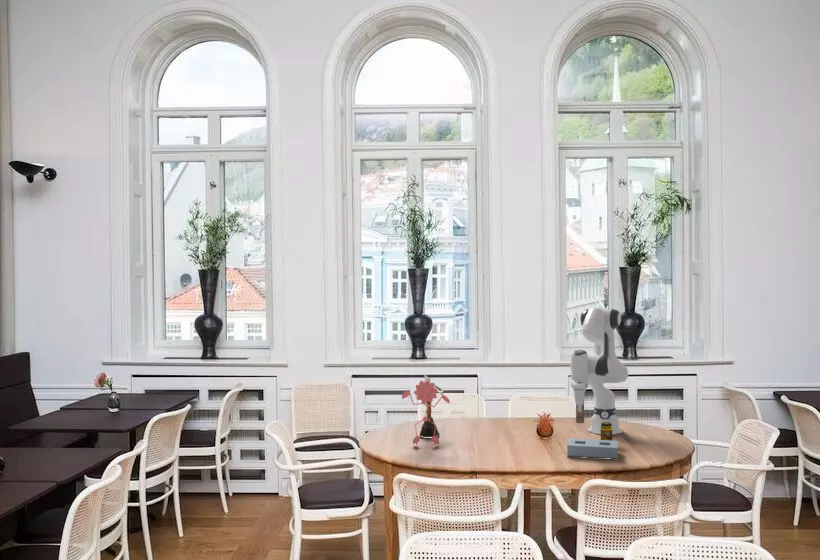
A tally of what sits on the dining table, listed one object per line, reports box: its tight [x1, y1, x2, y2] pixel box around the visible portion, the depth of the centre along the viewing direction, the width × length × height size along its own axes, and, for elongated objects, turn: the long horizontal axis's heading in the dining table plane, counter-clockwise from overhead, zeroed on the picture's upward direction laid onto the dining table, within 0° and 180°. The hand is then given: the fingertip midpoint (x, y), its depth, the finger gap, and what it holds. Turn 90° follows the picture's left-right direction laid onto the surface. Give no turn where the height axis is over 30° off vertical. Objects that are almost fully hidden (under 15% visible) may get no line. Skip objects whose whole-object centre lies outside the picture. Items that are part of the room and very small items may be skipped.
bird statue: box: [418, 374, 444, 437], centre depth 399 cm, size 17×13×35 cm
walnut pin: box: [575, 400, 585, 424], centre depth 357 cm, size 4×4×14 cm
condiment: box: [600, 422, 614, 441], centre depth 374 cm, size 7×8×12 cm
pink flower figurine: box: [401, 380, 451, 447], centre depth 380 cm, size 15×26×35 cm, turn 83°
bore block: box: [566, 438, 619, 460], centre depth 356 cm, size 14×24×6 cm, turn 75°
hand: (580, 410), depth 357 cm, fingers closed on walnut pin, 4 cm apart
